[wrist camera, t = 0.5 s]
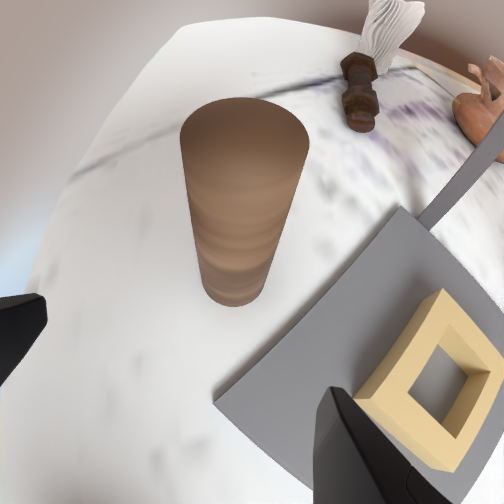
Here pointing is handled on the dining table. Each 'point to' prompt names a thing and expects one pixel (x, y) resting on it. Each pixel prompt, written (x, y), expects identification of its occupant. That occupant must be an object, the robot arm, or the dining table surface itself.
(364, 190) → the dining table surface
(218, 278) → the walnut peg
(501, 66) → the ceramic jug
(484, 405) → the socket stand
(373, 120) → the bolt
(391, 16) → the shell sculpture
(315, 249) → the dining table surface
